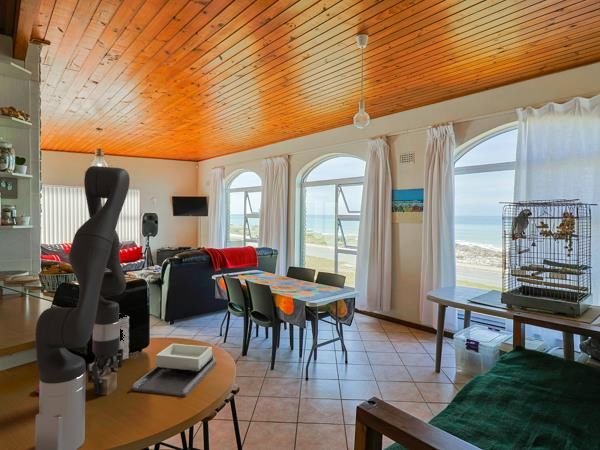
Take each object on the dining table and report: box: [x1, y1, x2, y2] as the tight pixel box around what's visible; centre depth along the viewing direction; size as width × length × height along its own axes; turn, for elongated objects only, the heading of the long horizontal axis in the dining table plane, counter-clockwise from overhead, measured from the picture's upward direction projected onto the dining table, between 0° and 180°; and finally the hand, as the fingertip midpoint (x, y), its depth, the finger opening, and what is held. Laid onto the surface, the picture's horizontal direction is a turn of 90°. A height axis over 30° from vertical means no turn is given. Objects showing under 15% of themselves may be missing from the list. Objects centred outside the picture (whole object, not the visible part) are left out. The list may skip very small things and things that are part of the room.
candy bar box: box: [117, 315, 130, 363], centre depth 140 cm, size 11×5×16 cm, turn 58°
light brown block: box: [98, 371, 118, 396], centre depth 115 cm, size 4×4×5 cm
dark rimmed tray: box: [131, 353, 217, 397], centre depth 126 cm, size 25×18×4 cm
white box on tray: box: [155, 343, 213, 373], centre depth 131 cm, size 12×16×6 cm
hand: (105, 388), depth 115 cm, fingers open, 6 cm apart
